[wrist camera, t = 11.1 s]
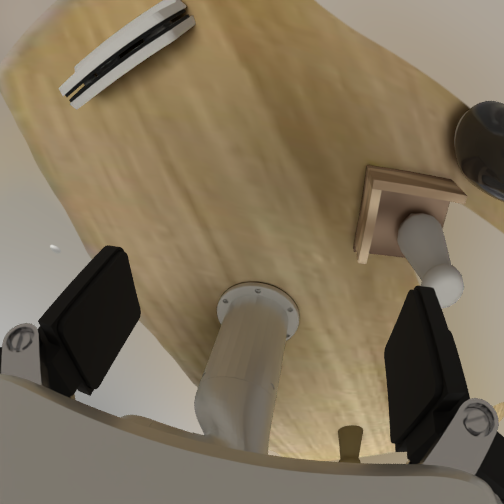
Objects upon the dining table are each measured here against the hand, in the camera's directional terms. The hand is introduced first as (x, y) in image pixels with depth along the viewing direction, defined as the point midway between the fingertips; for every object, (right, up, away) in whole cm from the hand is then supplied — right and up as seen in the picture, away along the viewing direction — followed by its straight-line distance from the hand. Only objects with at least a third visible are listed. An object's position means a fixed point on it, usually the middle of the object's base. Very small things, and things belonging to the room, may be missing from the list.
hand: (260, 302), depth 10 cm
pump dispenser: (+26, +15, +19) cm, 36 cm away
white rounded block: (-14, +26, +21) cm, 36 cm away
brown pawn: (+23, -41, +55) cm, 72 cm away
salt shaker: (+20, +5, +26) cm, 33 cm away
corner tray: (+18, +6, +26) cm, 32 cm away
